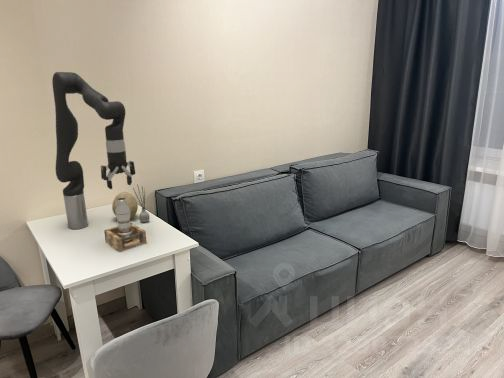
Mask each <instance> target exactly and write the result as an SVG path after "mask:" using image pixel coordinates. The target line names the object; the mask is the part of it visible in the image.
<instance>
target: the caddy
mask: <svg viewBox="0 0 504 378" xmlns="http://www.w3.org/2000/svg"><path fill="white" fill-rule="evenodd" d="M130 224H131V229H132V232H133V236H129V237H126V238H120V237H119V236H118V225H117V226H114V227H111V228H107V229H104V230H103V232H104V239H105V240H104V241H105V243H106V244H107V245H108V246H110V247H112V248H113V249H114V250H115V251H116V252H118V253H121V252H123V251H127V250H130V249H133V248H137V247H140V246H143V245H145V244H147V243H148V242H147V231H146V230H145V229H143V228H141V227H139V226H138V225H136V224H134V223H132V222H130ZM129 239H132V240H130V241H127V242H124V241H126V240H129Z"/></svg>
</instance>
